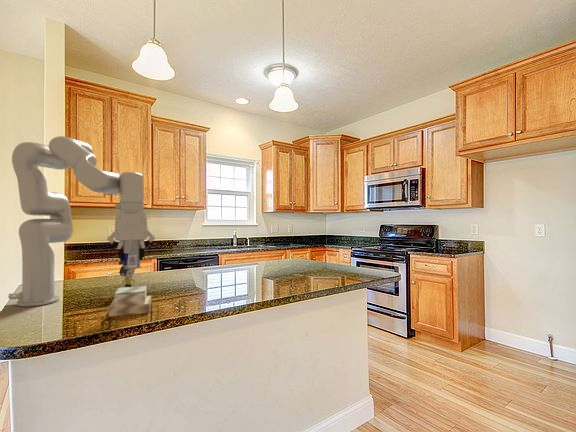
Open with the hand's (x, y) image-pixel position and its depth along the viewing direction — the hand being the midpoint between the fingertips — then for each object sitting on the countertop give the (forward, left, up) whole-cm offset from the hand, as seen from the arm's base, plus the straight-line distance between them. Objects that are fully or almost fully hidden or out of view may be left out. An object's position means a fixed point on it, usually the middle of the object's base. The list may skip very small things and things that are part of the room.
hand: (131, 259), depth 109 cm
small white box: (0, 0, -17) cm, 17 cm away
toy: (-4, +23, -18) cm, 29 cm away
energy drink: (0, 0, -3) cm, 3 cm away
